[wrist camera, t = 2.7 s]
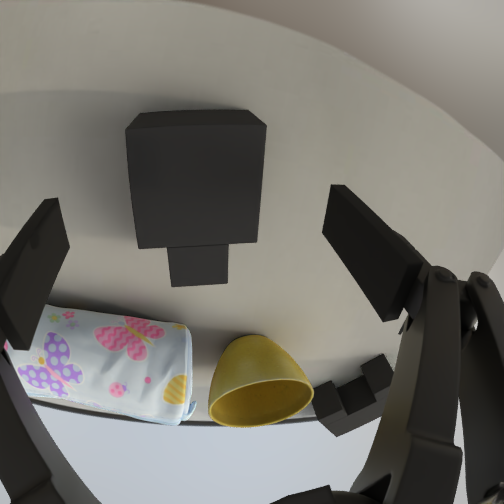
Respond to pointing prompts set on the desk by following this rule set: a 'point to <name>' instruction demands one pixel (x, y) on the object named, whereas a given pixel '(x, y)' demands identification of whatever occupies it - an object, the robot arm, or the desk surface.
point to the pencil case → (110, 363)
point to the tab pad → (196, 187)
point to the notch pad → (354, 398)
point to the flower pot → (257, 384)
